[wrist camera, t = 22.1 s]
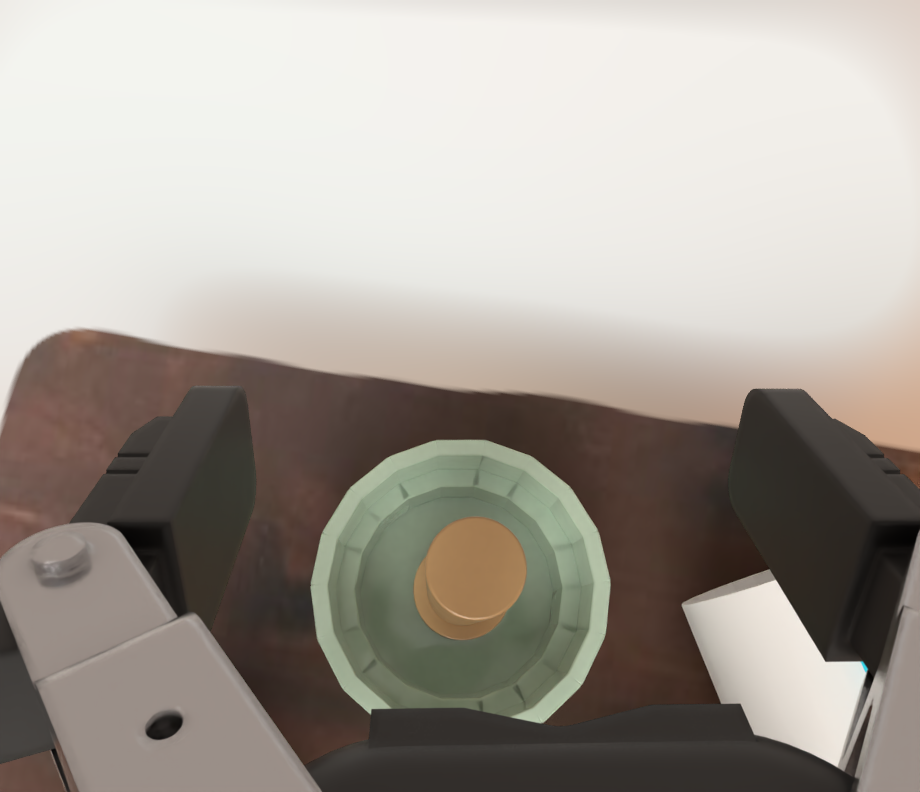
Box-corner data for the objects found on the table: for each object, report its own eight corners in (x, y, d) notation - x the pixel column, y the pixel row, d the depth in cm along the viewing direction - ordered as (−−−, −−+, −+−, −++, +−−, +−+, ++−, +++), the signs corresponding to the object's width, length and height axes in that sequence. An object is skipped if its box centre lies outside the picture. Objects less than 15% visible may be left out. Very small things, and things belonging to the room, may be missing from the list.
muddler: (407, 631, 30) (392, 627, 19) (424, 541, 31) (419, 485, 20) (496, 647, 30) (536, 654, 18) (510, 556, 31) (556, 509, 20)
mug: (1057, 1040, 19) (836, 567, 22) (777, 959, 26) (644, 616, 29) (1224, 833, 24) (1029, 485, 28) (956, 816, 32) (828, 543, 35)
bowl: (306, 704, 30) (280, 718, 24) (360, 451, 33) (346, 416, 28) (563, 749, 29) (592, 773, 24) (592, 490, 33) (623, 462, 27)
